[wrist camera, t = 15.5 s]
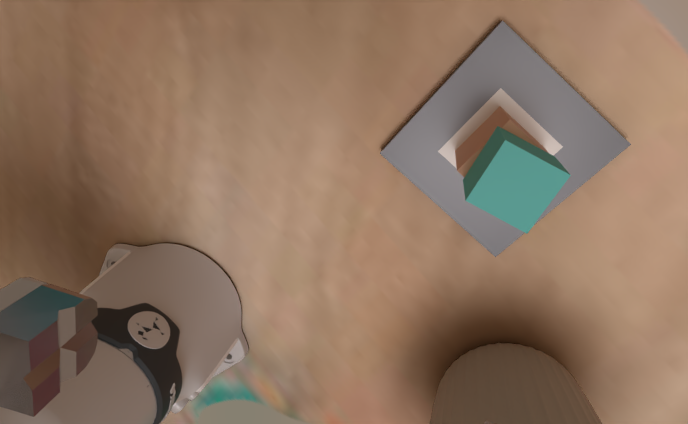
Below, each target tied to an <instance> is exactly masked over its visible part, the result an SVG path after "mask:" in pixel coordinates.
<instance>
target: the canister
mask: <svg viewBox="0 0 688 424" xmlns="http://www.w3.org/2000/svg"><path fill="white" fill-rule="evenodd" d="M485 421H490V422H493V423H496V424H602V423H601V421H600V419H599V417H598V416H597V414H596V412H595V411H594V409H593V407H592V406H591V404H590V402H589V401H588V399H587V398H586V396H585V394H584V393H583V391H582V390H581V388H580V387H579V385H578V383H577V382H576V380H575V379H574V377H573V376H572V375H571V374H570V373H569V372H568V371H567V370H566V369H565V367H564V366H563V365H562V364H560V363H559V362H557V361H556V360H555V359H554V358H553V357H551V356H549V355H546V354H545V353H544V352H542V351H540V350H535V349H534V348H532V347H527V346H523V345H521V344H511V343H497V344H488V345H486V346H481V347H477V348H476V349H474V350H469V351H468V352H467V353H466V354H464V355H461V356H460V357H459V359H458V360H456V361H454V362H453V363H452V365H451V366H450V367H449V368H448V369H447V370H446V372H445V374H444V376H443V377H442V379H441V381H440V384H439V387H438V390H437V393H436V397H435V401H434V406H433V410H432V415H431V420H430V424H484V423H485Z"/></svg>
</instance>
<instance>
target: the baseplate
mask: <svg viewBox="0 0 688 424" xmlns="http://www.w3.org/2000/svg"><path fill="white" fill-rule="evenodd" d="M500 106H501V107H502V108H503V109H504V110H505V111H506V112H507V113H508V114H509V115H510V116H511V117H512V118H513V119H514V120H516V121H517V122H518V123H519V124H520V125H521V126H522V127H523V128H524V129H525V130H526V131H527V132H528V133H529V134H530V135H531V136H533V137H534V138H535V139H536V140H537V141H538V142H539V143H540V144H541V145H542V146H543V147H544V148H545V149H546V150H547V151H548V153H549V154H551V155H553V156H555V157H556V158H557V160H558V161H559V162H560V163H561V164H562V165H563V167H564V168H565V169H566V170H567V171H568V173H569V174H570V175H571V176H570V177H569V178H568V180H567V181H566V182H565V184H564V185H563V186H562V188H561V189H560V190H559V192H558V193H557V194H556V196H555V197H554V198H553V200H552V201H551V202H550V204H549V205H548V206H547V208H546V209H545V210H544V212H543V213H542V214H541V216H540V217H539V218H538V220H537V221H536V223H537V222H538V221H539V220H541V219H542V218H543V217H544V216H545V215H547V214H548V213H549V212H550V211H551V210H553V209H554V208H555V207H556V206H557V205H559V204H560V203H561V202H562V201H563V200H565V199H566V198H567V197H568V196H569V195H571V194H572V193H573V192H574V191H575V190H577V189H578V188H579V187H580V186H581V185H583V184H584V183H585V182H586V181H588V180H589V179H590V178H591V177H592V176H594V175H595V174H596V173H597V172H598V171H600V170H601V169H602V168H603V167H604V166H606V165H607V164H608V163H609V162H610V161H612V160H613V159H614V158H615V157H616V156H618V155H619V154H620V153H621V152H622V151H624V150H625V149H626V148H627V147H628V146H630V145H631V144H630V143H629V142H628V141H627V140H626V139H625V138H624V137H623V136H622V135H621V134H620V133H619V132H617V131H616V130H615V129H614V128H613V127H612V126H611V125H610V124H609V123H608V122H607V121H606V120H605V119H604V118H603V117H602V116H601V115H600V114H599V113H598V112H597V111H596V110H595V109H594V108H593V107H592V106H591V105H590V104H588V103H587V102H586V101H585V100H584V99H583V98H582V97H581V96H580V95H579V94H578V93H577V92H576V91H575V90H574V89H573V88H572V87H571V86H570V85H569V84H568V83H567V82H566V81H565V80H564V79H563V78H562V77H561V76H559V75H558V74H557V73H556V72H555V71H554V70H553V69H552V68H551V67H550V66H549V65H548V64H547V63H546V62H545V61H544V60H543V59H542V58H541V57H540V56H539V55H538V54H537V53H536V52H535V51H534V50H533V49H532V48H530V47H529V46H528V45H527V44H526V43H525V42H524V41H523V40H522V39H521V38H520V37H519V36H518V35H517V34H516V33H515V32H514V31H513V30H512V29H511V28H510V27H509V26H508V25H507V24H506V23H505V22H504V21H500V22H499V23H498V25H497V26H496V27H495V28H494V29H493V30H492V31H491V32H490V33H489V34H488V35H487V36H486V38H485V39H484V40H483V41H482V42H481V43H480V44H479V45H478V46H477V47H476V48H475V49H474V51H473V52H472V53H471V54H470V55H469V56H468V57H467V58H466V59H465V60H464V61H463V62H462V64H461V65H460V66H459V67H458V68H457V69H456V70H455V71H454V72H453V73H452V74H451V75H450V77H449V78H448V79H447V80H446V81H445V82H444V83H443V84H442V85H441V86H440V87H439V88H438V90H437V91H436V92H435V93H434V94H433V95H432V96H431V97H430V98H429V99H428V100H427V101H426V103H425V104H424V105H423V106H422V107H421V108H420V109H419V110H418V111H417V112H416V113H415V114H414V116H413V117H412V118H411V119H410V120H409V121H408V122H407V123H406V124H405V125H404V126H403V127H402V129H401V130H400V131H399V132H398V133H397V134H396V135H395V136H394V137H393V138H392V139H391V140H390V142H389V143H388V144H387V145H386V146H385V147H384V148H383V149H382V150H381V152H380V154H381V155H382V156H383V157H384V158H385V159H387V160H388V161H389V162H390V163H391V164H392V165H393V166H394V167H395V168H397V169H398V170H399V171H400V172H401V173H402V174H403V175H404V176H406V177H407V178H408V179H409V180H410V181H411V182H412V183H413V184H414V185H416V186H417V187H418V188H419V189H420V190H421V191H422V192H423V193H425V194H426V195H427V196H428V197H429V198H430V199H431V200H432V201H433V202H435V203H436V204H437V205H438V206H439V207H440V208H441V209H442V210H444V211H445V212H446V213H447V214H448V215H449V216H450V217H451V218H452V219H454V220H455V221H456V222H457V223H458V224H459V225H460V226H461V227H463V228H464V229H465V230H466V231H467V232H468V233H469V234H470V235H471V236H473V237H474V238H475V239H476V240H477V241H478V242H479V243H480V244H482V245H483V246H484V247H485V248H486V249H487V250H488V251H489V252H490V253H492V254H493V255H494V256H495V257H496V256H497V255H499V254H500V253H501V252H502V251H503V250H505V249H506V248H507V247H508V246H509V245H511V244H512V243H513V242H514V241H515V240H517V239H518V238H519V237H520V236H521V235H523V234H524V233H525V232H523V231H521V230H519V229H517V228H515V227H514V226H512V225H510V224H508V223H506V222H504V221H502V220H501V219H499V218H497V217H495V216H493V215H491V214H489V213H487V212H486V211H484V210H482V209H480V208H478V207H476V206H474V205H473V204H471V203H469V202H467V201H465V193H464V185H463V179H464V177H463V176H462V175H461V174H460V173H459V172H458V171H457V167H456V157H455V150H456V149H457V148H458V147H459V146H460V145H461V144H462V143H463V142H464V141H465V140H466V139H467V138H468V137H469V136H470V135H471V134H472V133H473V132H474V131H475V130H476V129H477V128H478V127H479V126H480V125H482V124H483V123H484V122H485V121H486V120H487V119H488V118H489V117H490V116H491V115H492V114H493V113H494V112H495V111H496V110H497V109H498V108H499V107H500ZM536 223H535V224H536ZM535 224H534V225H535Z"/></svg>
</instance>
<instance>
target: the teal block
mask: <svg viewBox="0 0 688 424" xmlns="http://www.w3.org/2000/svg"><path fill="white" fill-rule="evenodd" d="M570 176H571V175H570V174H569V173H568V171H567V170H566V169H565V168H564V167H563V165H562V164H561V163H560V162H559V161H558V160H557V158H556V157H555V156H553V155H551V154H549V153H547V152H545V151H544V150H542V149H540V148H538V147H536V146H534V145H532V144H531V143H529V142H527V141H525V140H523V139H521V138H519V137H517V136H516V135H514V134H512V133H510V132H508V131H506V130H504V129H503V128H501V127H499V126H497V127H496V129H495V131H494V132H493V134H492V135H491V137H490V138H489V140H488V141H487V143H486V145H485V146H484V148H483V149H482V151H481V152H480V154H479V155H478V157H477V159H476V160H475V162H474V163H473V165H472V166H471V168H470V170H469V171H468V173H467V174H466V176H465V177H464V179H463V185H464V193H465V201H467V202H469V203H471V204H473V205H474V206H476V207H478V208H480V209H482V210H484V211H486V212H487V213H489V214H491V215H493V216H495V217H497V218H499V219H501V220H502V221H504V222H506V223H508V224H510V225H512V226H514V227H515V228H517V229H519V230H521V231H523V232H525V233H528V232H529V231H530V229H531V228H532V227H533V225H534V224H535V223H536V221H537V220H538V218H539V217H540V216H541V214H542V213H543V212H544V210H545V209H546V208H547V206H548V205H549V204H550V202H551V201H552V200H553V198H554V197H555V196H556V194H557V193H558V192H559V190H560V189H561V188H562V186H563V185H564V184H565V182H566V181H567V180H568V178H569V177H570Z"/></svg>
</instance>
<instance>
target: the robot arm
mask: <svg viewBox="0 0 688 424" xmlns="http://www.w3.org/2000/svg"><path fill="white" fill-rule="evenodd" d="M115 262H116V263H115ZM241 317H242V313H241V304H240V300H239V297H238V294H237V291H236V289H235V287H234V285H233V284H232V282H231V280H230V279H229V278H228V276H227V275H226V274H225V272H224V271H223V270H222V269H221V268H220V267H219V266H218V265H217V264H216V263H214V262H213V261H212V260H211V259H209V258H208V257H206V256H205V255H203V254H202V253H200V252H198V251H196V250H194V249H191V248H188V247H185V246H182V245H177V244H169V243H162V244H154V245H149V246H144V247H137V246H133V245H128V244H115V245H114V246H113V247H112V248H110V249H109V250H108V252H107V254H106V257H105V260H104V263H103V265H102V268H101V271H100V274H99V276H98V277H97V278H96V279H95V280H94V281H92V282H91V283H90V284H89V285H87V286H86V287H85V288H84V289H83V290H82V291H81V292H80V293H76V292H73V291H70V290H67V289H64V288H61V287H59V286H56V285H53V284H48V283H45V282H42V281H39V280H36V279H33V278H31V277H25V278H19V279H18V280H16V281H14V282H12V283H11V284H9V285H7V286H6V287H4V288H2V289H0V424H160V423H161V422H162V421H163V420H164V419H165V418H166V416H167V415H168V414H169V412H170V411H172V412H173V413H175V414H176V413H178V412H179V411H180V410H181V409H182V408H183V407H184V406H185V405H186V404H187V403H188V401H189V400H190V401H192V400H193V399H194V398H195V397H196V396H197V395H198V394H199V393H200V391H202V390H203V388H204V387H205V386H206V385H207V383H208V382H209V380H210V379H211V378H213V377H214V376H216V375H218V374H219V373H221V372H223V371H224V370H226V369H228V368H229V367H231V366H233V365H234V364H236V363H238V362H239V361H241V360H242V359H243V358H244V357H245V356H246V355H247V353H248V345H247V342H246V339H245V337H244V334H243V332H242V328H241ZM229 354H231V355H229ZM484 424H496V423H493V422H490V421H485V423H484Z"/></svg>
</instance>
